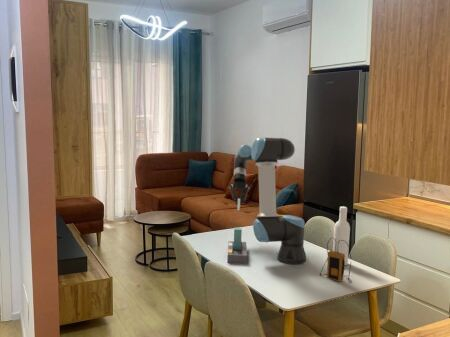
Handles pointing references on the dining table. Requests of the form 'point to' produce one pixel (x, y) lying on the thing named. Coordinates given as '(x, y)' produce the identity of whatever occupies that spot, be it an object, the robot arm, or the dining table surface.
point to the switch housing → (237, 253)
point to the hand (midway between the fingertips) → (238, 209)
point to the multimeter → (335, 265)
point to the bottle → (342, 234)
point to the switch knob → (237, 238)
